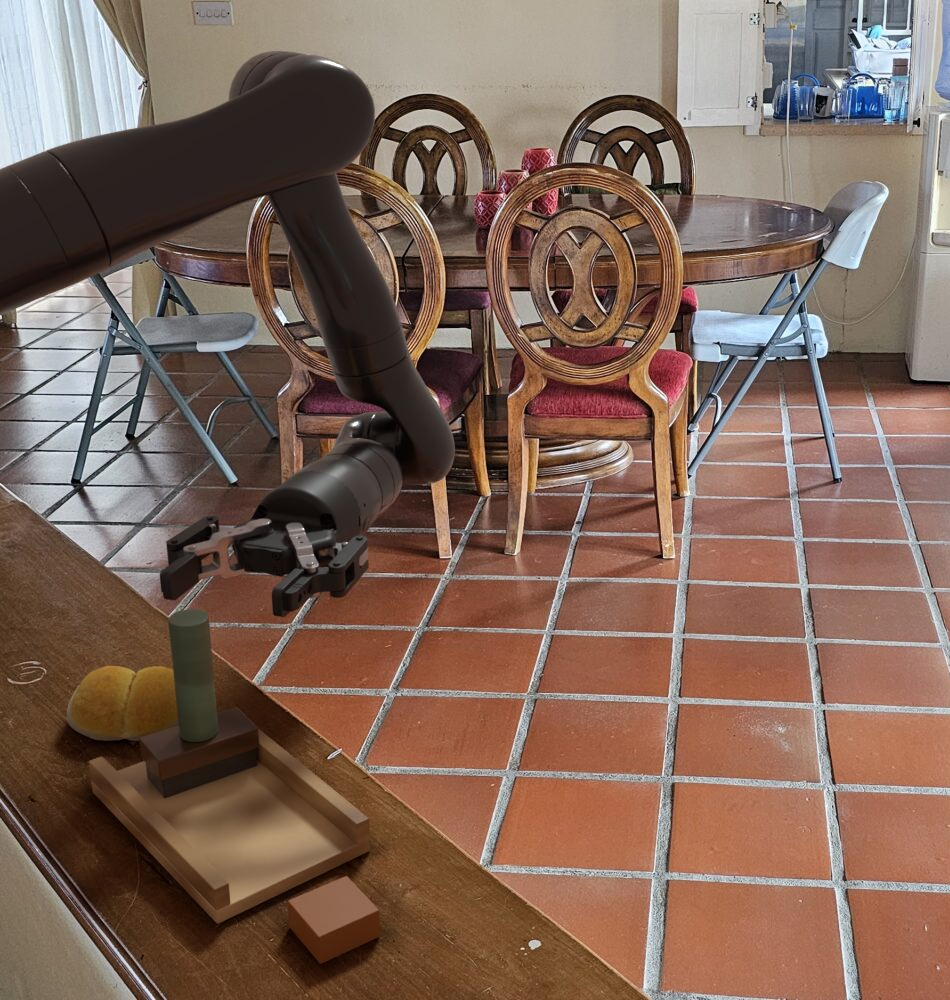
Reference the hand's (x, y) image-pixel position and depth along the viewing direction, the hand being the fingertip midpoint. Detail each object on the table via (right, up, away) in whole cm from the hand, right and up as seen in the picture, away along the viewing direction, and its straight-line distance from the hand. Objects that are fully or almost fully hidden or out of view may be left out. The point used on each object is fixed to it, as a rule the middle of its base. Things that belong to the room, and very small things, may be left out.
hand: (221, 596), depth 91 cm
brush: (-1, -12, 0) cm, 12 cm away
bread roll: (-9, -10, +8) cm, 16 cm away
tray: (+1, -15, -3) cm, 15 cm away
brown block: (+11, -19, -13) cm, 25 cm away
